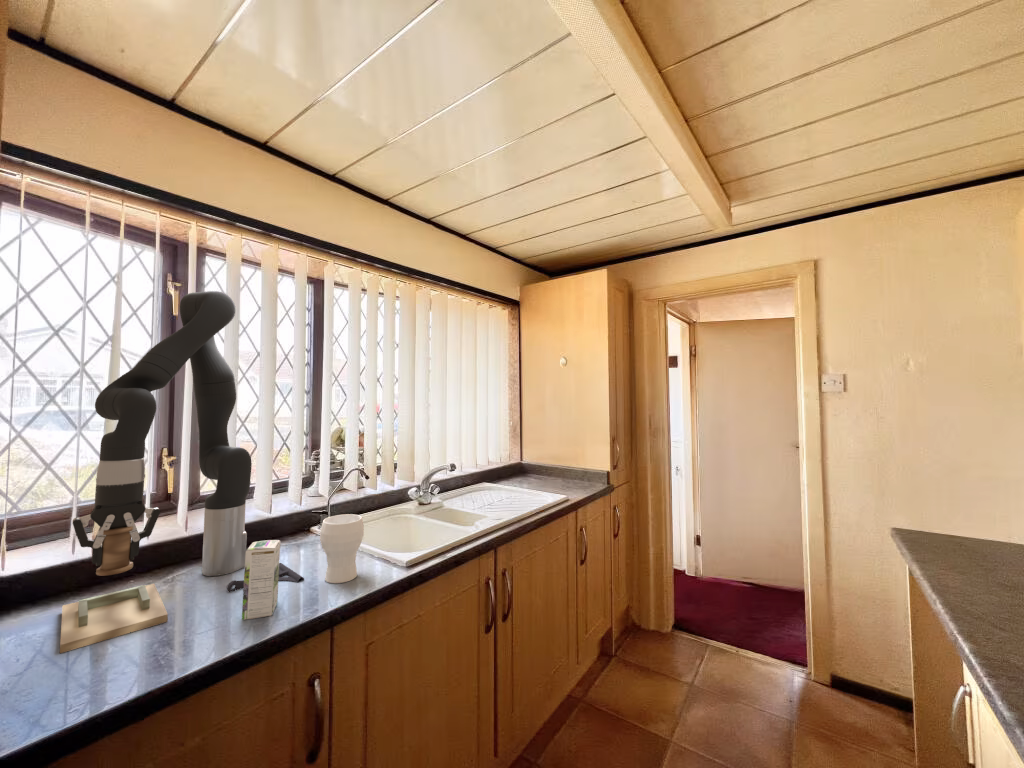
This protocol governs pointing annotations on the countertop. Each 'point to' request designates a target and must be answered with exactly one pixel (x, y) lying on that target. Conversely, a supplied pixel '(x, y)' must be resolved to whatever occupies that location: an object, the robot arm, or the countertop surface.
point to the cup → (341, 546)
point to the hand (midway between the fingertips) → (115, 561)
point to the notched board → (110, 616)
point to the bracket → (282, 572)
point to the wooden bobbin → (115, 551)
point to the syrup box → (261, 579)
